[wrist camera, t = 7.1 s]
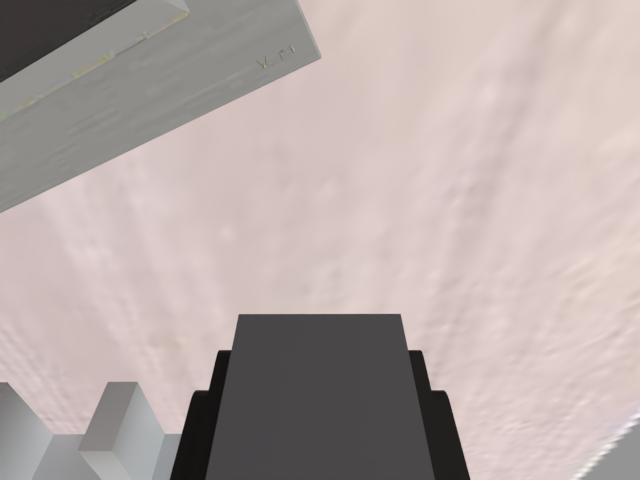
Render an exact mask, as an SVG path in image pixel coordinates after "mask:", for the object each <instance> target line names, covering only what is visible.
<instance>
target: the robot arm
mask: <svg viewBox="0 0 640 480" xmlns="http://www.w3.org/2000/svg"><path fill="white" fill-rule="evenodd" d="M408 352H409V356H410V361H411V366H412V371H413V376H414V381H415V386H416V391H417V395H418V400H419V405H420V410H421V415H422V420H423V425H424V429H425V434H426V439H427V444H428V449H429V454H430V459H431V464H432V468H433V473H434V478H435V480H471V479H470V476H469V472H468V468H467V464H466V461H465V457H464V453H463V449H462V446H461V442H460V438H459V434H458V431H457V427H456V423H455V419H454V416H453V412H452V408H451V404H450V401H449V398H448V395H447V393H446V391H444V390H431V386H430V381H429V377H428V373H427V369H426V364H425V360H424V356H423V353H422V351H421V350H408ZM230 355H231V350H219V351H218V353H217V356H216V361H215V365H214V369H213V373H212V378H211V382H210V386H209V390H196V391H195V392H194V393H193V395H192V398H191V401H190V405H189V408H188V412H187V416H186V420H185V423H184V427H183V431H182V435H181V438H180V442H179V446H178V450H177V453H176V457H175V461H174V465H173V468H172V472H171V476H170V480H205V479H206V474H207V469H208V464H209V459H210V454H211V449H212V444H213V439H214V434H215V429H216V424H217V419H218V414H219V409H220V405H221V400H222V395H223V390H224V385H225V380H226V375H227V370H228V365H229V360H230Z"/></svg>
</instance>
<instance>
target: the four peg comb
mask: <svg viewBox="0 0 640 480" xmlns="http://www.w3.org/2000/svg"><path fill="white" fill-rule="evenodd" d="M181 435H182V434H165V433H164V431H163V429H162V428H161V426H160V424H159V422H158V420H157V418H156V416H155V414H154V412H153V410H152V408H151V406H150V404H149V403H148V401H147V399H146V397H145V395H144V393H143V391H142V389H141V387H140V385H139V383H138V382H108V383H107V385H106V387H105V389H104V392H103V394H102V396H101V399H100V401H99V403H98V405H97V408H96V410H95V412H94V414H93V417H92V419H91V421H90V423H89V426H88V428H87V430H86V433H85V434H53V433H52V432H51V430H50V429H49V428H48V427H47V426H46V425H45V424H44V423H43V422H42V420H41V419H40V418H39V417H38V416H37V415H36V414H35V413H34V411H33V410H32V409H31V408H30V407H29V406H28V405H27V404H26V403H25V401H24V400H23V399H22V398H21V397H20V396H19V395H18V394H17V392H16V391H15V390H14V389H13V388H12V387H11V386H10V385H9V383H8V382H0V480H170V476H171V472H172V468H173V465H174V461H175V457H176V453H177V450H178V446H179V442H180V438H181Z"/></svg>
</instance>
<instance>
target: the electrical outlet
mask: <svg viewBox="0 0 640 480" xmlns="http://www.w3.org/2000/svg"><path fill="white" fill-rule="evenodd" d="M321 58H322V57H321V53H320V51H319V49H318V46H317V44H316V42H315V39H314V37H313V35H312V32H311V30H310V28H309V25H308V23H307V21H306V18H305V16H304V14H303V11H302V9H301V7H300V4H299V2H298V0H0V213H2V212H4V211H6V210H8V209H10V208H12V207H14V206H16V205H19V204H21V203H23V202H25V201H27V200H29V199H31V198H33V197H35V196H37V195H39V194H41V193H43V192H45V191H48V190H50V189H52V188H54V187H56V186H58V185H60V184H62V183H64V182H66V181H68V180H70V179H72V178H74V177H77V176H79V175H81V174H83V173H85V172H87V171H89V170H91V169H93V168H95V167H97V166H99V165H101V164H103V163H106V162H108V161H110V160H112V159H114V158H116V157H118V156H120V155H122V154H124V153H126V152H128V151H130V150H132V149H135V148H137V147H139V146H141V145H143V144H145V143H147V142H149V141H151V140H153V139H155V138H157V137H159V136H161V135H164V134H166V133H168V132H170V131H172V130H174V129H176V128H178V127H180V126H182V125H184V124H186V123H188V122H190V121H192V120H195V119H197V118H199V117H201V116H203V115H205V114H207V113H209V112H211V111H213V110H215V109H217V108H219V107H221V106H224V105H226V104H228V103H230V102H232V101H234V100H236V99H238V98H240V97H242V96H244V95H246V94H248V93H250V92H253V91H255V90H257V89H259V88H261V87H263V86H265V85H267V84H269V83H271V82H273V81H275V80H277V79H279V78H282V77H284V76H286V75H288V74H290V73H292V72H294V71H296V70H298V69H300V68H302V67H304V66H306V65H308V64H311V63H313V62H315V61H317V60H319V59H321Z"/></svg>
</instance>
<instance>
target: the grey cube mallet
mask: <svg viewBox="0 0 640 480" xmlns="http://www.w3.org/2000/svg"><path fill="white" fill-rule="evenodd" d="M205 480H435V478H434V473H433V468H432V464H431V459H430V454H429V449H428V444H427V439H426V434H425V429H424V425H423V420H422V415H421V410H420V405H419V400H418V395H417V391H416V386H415V381H414V376H413V371H412V366H411V361H410V356H409V352H408V347H407V342H406V337H405V332H404V327H403V322H402V318H401V314H239V315H238V320H237V325H236V330H235V335H234V340H233V345H232V350H231V355H230V360H229V365H228V370H227V375H226V380H225V385H224V390H223V395H222V400H221V405H220V409H219V414H218V419H217V424H216V429H215V434H214V439H213V444H212V449H211V454H210V459H209V464H208V469H207V474H206V479H205Z"/></svg>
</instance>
